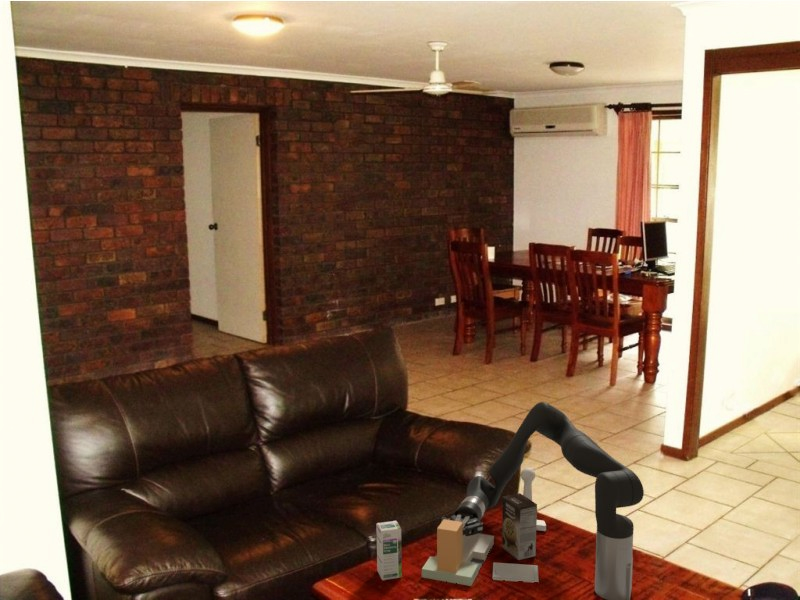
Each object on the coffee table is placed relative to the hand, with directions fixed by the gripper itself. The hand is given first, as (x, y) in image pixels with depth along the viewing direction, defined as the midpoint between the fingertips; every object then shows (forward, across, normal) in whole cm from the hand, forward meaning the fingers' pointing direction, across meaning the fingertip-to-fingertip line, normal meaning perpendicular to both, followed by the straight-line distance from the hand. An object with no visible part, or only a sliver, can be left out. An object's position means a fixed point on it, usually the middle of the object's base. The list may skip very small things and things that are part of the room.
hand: (453, 537), depth 216 cm
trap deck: (-6, 0, +10) cm, 11 cm away
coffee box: (-16, +15, +10) cm, 24 cm away
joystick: (-30, +15, +10) cm, 35 cm away
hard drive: (-4, +17, +10) cm, 20 cm away
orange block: (+3, 0, +7) cm, 8 cm away
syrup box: (+8, -16, +10) cm, 21 cm away
